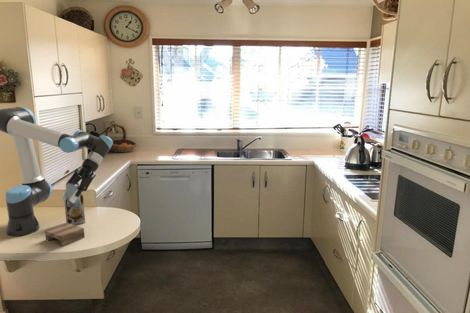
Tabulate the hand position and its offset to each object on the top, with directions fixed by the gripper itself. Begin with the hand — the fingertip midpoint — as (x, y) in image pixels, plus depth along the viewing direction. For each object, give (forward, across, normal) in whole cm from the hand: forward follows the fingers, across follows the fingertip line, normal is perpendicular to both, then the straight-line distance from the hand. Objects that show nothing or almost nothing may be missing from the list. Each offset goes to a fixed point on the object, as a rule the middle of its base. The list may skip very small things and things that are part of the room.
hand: (67, 200), depth 176 cm
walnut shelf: (+15, +3, -14) cm, 21 cm away
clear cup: (0, 0, -5) cm, 5 cm away
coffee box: (+4, +16, -25) cm, 30 cm away
